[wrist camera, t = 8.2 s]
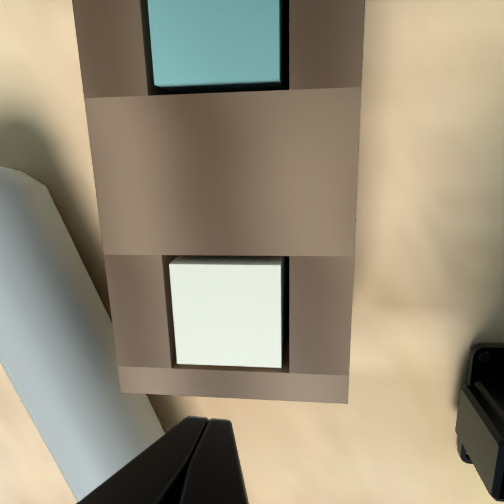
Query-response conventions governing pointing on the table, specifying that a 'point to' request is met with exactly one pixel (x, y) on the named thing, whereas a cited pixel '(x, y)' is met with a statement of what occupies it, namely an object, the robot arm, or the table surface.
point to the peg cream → (229, 309)
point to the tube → (63, 343)
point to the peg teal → (218, 45)
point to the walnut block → (227, 195)
